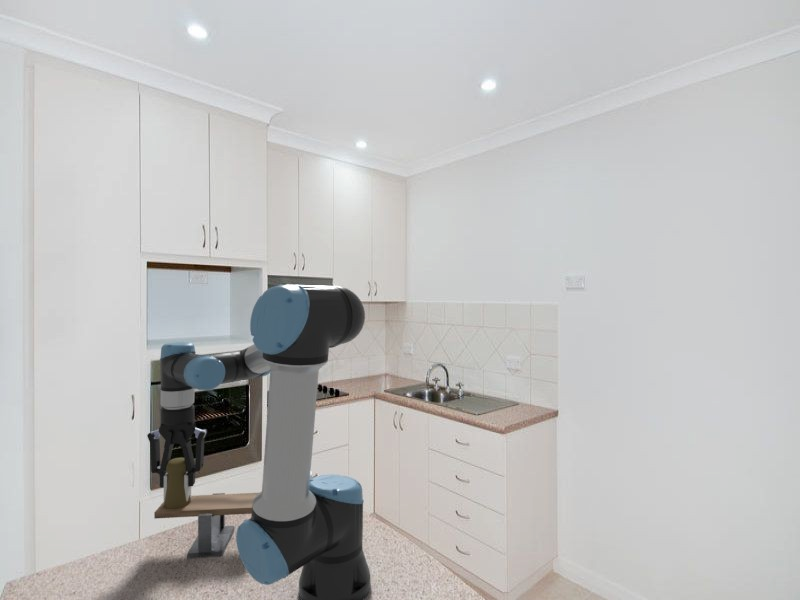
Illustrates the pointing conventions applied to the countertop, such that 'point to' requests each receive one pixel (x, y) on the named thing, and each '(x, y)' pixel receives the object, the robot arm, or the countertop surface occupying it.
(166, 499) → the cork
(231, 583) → the countertop surface
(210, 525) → the seesaw stand
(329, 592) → the robot arm
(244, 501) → the seesaw plank
